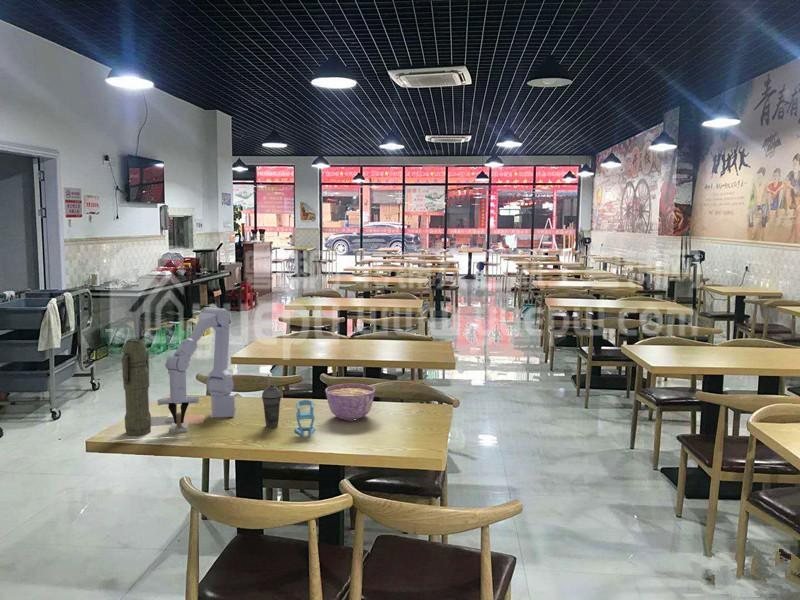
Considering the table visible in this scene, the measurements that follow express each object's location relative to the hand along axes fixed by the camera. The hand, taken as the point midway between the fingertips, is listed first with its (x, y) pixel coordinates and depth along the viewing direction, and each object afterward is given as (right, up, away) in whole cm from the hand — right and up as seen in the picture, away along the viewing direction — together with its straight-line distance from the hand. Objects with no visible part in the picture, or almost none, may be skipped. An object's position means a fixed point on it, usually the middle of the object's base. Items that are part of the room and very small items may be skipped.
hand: (179, 422), depth 244 cm
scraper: (0, -3, 0) cm, 3 cm away
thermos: (-14, -4, -4) cm, 15 cm away
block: (-5, -1, +11) cm, 13 cm away
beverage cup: (+33, -3, +7) cm, 34 cm away
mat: (-6, -2, +11) cm, 13 cm away
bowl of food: (+63, -2, +18) cm, 65 cm away
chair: (+48, -4, -2) cm, 48 cm away
